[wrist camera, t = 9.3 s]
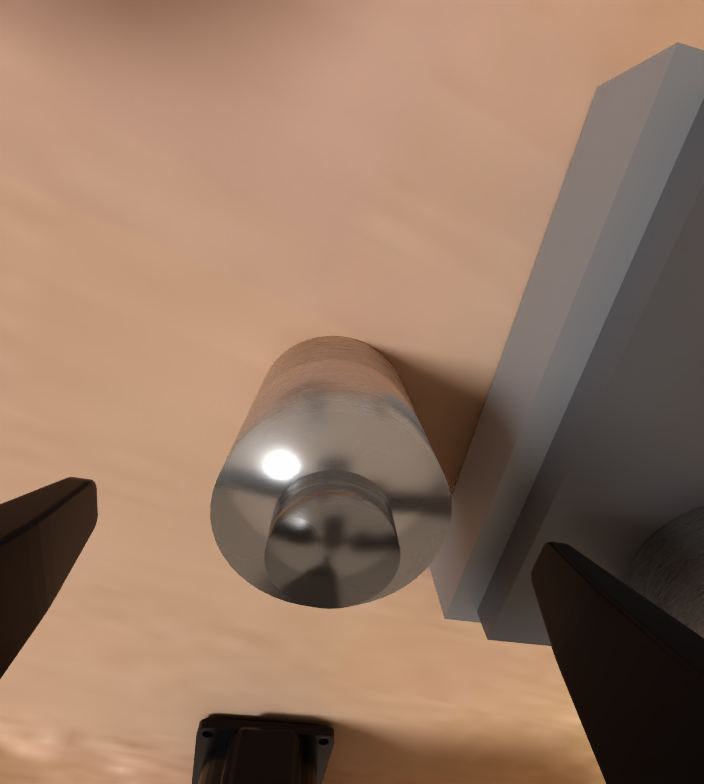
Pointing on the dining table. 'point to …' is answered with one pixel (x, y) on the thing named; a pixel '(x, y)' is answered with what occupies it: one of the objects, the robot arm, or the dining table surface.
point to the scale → (595, 362)
